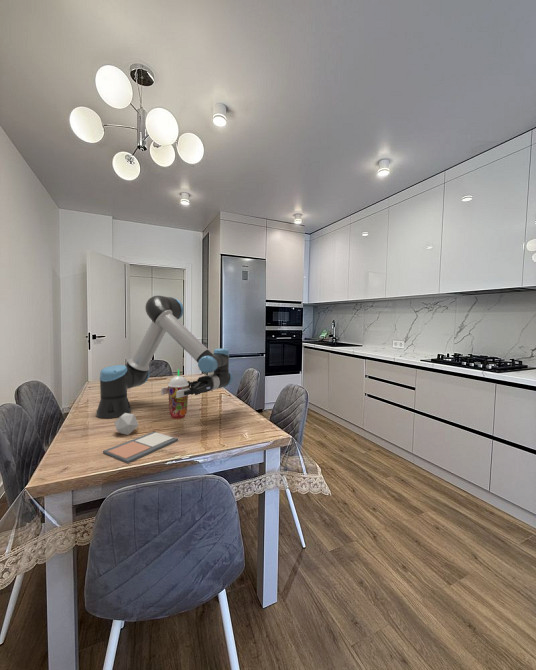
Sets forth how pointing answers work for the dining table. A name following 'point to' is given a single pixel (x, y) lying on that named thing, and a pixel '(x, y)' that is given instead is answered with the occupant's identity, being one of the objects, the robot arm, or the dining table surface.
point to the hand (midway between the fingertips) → (169, 393)
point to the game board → (140, 447)
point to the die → (126, 423)
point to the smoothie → (177, 404)
